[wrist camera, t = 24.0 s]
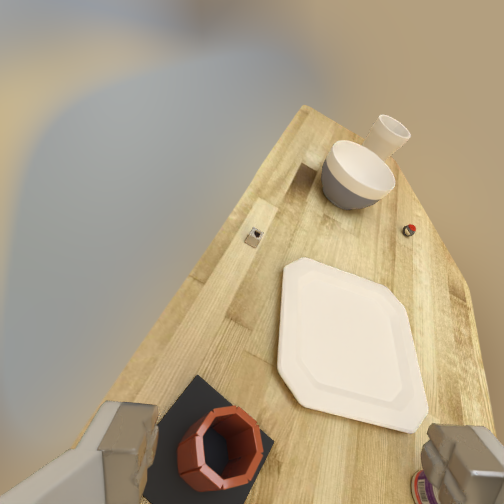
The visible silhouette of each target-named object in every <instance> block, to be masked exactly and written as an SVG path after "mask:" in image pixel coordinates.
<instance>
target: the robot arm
mask: <svg viewBox="0 0 504 504" xmlns="http://www.w3.org/2000/svg"><path fill="white" fill-rule="evenodd" d="M158 416H159V415H158V406H157V405H152V404H141V403H131V402H115V401H105V402H104V403H103V404H102V405H101V406H100V408H99V410H98V411H97V413H96V415H95V416H94V418H93V420H92V421H91V423H90V425H89V426H88V428H87V430H86V431H85V433H84V435H83V436H82V438H81V440H80V441H79V443H78V445H77V446H76V448H75V449H68V450H67V451H65V452H64V453H63V454H61V455H60V456H58V457H57V458H55V459H54V460H52V461H51V462H49V463H48V464H46V465H45V466H44V467H42V468H41V469H39V470H38V471H36V472H35V473H33V474H32V475H30V476H29V477H27V478H26V479H25V480H23V481H22V482H20V483H19V484H17V485H16V486H14V487H13V488H11V489H10V490H9V491H7V492H6V493H4V494H3V495H1V496H0V504H140V501H141V498H142V495H143V492H144V489H145V486H146V483H147V469H148V468H149V467H150V466H151V465H152V464H153V460H154V457H155V454H156V449H157V444H158V435H159V428H158V426H157V425H156V421H157V419H158ZM427 435H428V437H429V439H430V440H429V441H428V442H426V443H425V444H424V445H423V447H422V451H421V462H422V467H423V470H424V473H425V475H426V477H427V479H428V481H429V482H430V483H431V484H432V485H433V486H434V487H436V488H437V489H438V490H439V493H438V499H439V501H440V503H441V504H504V446H503V445H502V444H501V443H500V442H499V441H498V440H497V438H496V437H495V436H494V435H493V434H492V433H491V431H490V430H489V429H487V428H486V427H484V426H473V425H453V424H435V423H432V424H431V425H430V426H429V428H428V431H427Z"/></svg>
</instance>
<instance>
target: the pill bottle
mask: <svg viewBox="0 0 504 504" xmlns="http://www.w3.org/2000/svg"><path fill="white" fill-rule="evenodd" d="M411 487H412V494H413V498H414V501H415V503H416V504H441V503H440V501H439V499H438V493H439V490H438V489H437V488H436V487H434V486H433V485H432V484H431V483H430V482H429V481H428V479H427V477H426V475H425V473H424V470H420V471H418V472H416V473H415V474H414V476H413V478H412V484H411Z"/></svg>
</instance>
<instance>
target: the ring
mask: <svg viewBox="0 0 504 504" xmlns="http://www.w3.org/2000/svg"><path fill="white" fill-rule="evenodd" d="M406 228H407V230H408V231H409V232H410V235H409V236H412V235H413V234H414V233H415V231H416V227H415V226H414V225H411V224H409V225H407V226H405V227H404V228H403V234H404V235H405V236H407V235H406V234H405V229H406Z"/></svg>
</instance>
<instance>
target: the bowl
mask: <svg viewBox="0 0 504 504" xmlns="http://www.w3.org/2000/svg"><path fill="white" fill-rule="evenodd" d="M321 180H322V184H323V192H324V194H325V196H326V197H327V199H328V200H329V201H330V202H331V203H333V204H334V205H336V206H337V207H339V208H342V209H345V210H351V209H361V208H365V207H368V206H371V205H373V204H375V203H376V202H378V201H379V200H380V199H382V198H383V197H385V196H386V195H387V194H388V193H389V192H390V191H391V190H392V189H393V188H394V187H395V178H394V175H393V173H392V171H391V170H390V168H389V167H388V166H387V164H386V163H385V162H384V161H383V160H382V159H381V158H380V157H378V156H377V155H376V154H375V153H373V152H372V151H370V150H369V149H367V148H366V147H364V146H362V145H360V144H357V143H355V142H351V141H346V140H341V141H337V142H336V143H334V144H333V146H332V148H331V150H330V151H329V153H328V155H327V157H326V159H325V162H324V164H323V167H322V176H321Z"/></svg>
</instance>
